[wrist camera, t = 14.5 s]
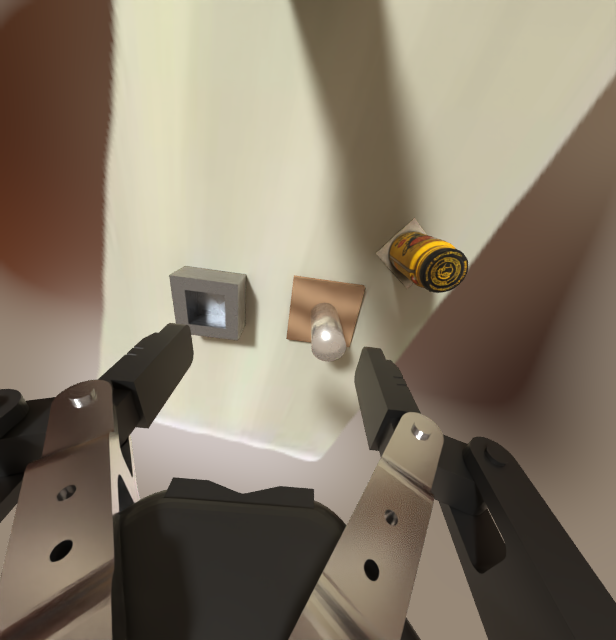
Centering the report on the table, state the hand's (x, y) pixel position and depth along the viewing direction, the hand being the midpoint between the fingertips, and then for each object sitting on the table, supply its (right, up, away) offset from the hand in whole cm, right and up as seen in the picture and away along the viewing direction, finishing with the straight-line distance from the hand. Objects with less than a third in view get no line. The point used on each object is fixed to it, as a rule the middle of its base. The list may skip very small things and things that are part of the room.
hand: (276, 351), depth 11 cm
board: (+4, +3, +31) cm, 32 cm away
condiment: (+18, +12, +27) cm, 34 cm away
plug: (+4, +2, +30) cm, 31 cm away
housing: (-15, +5, +30) cm, 34 cm away
